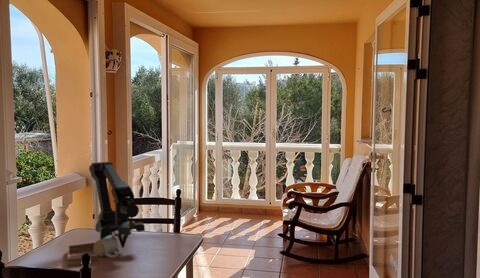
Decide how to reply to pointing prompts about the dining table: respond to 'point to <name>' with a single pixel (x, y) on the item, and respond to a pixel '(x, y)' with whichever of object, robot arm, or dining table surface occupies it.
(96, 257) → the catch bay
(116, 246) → the ceramic mug
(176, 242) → the dining table surface
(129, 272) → the dining table surface
